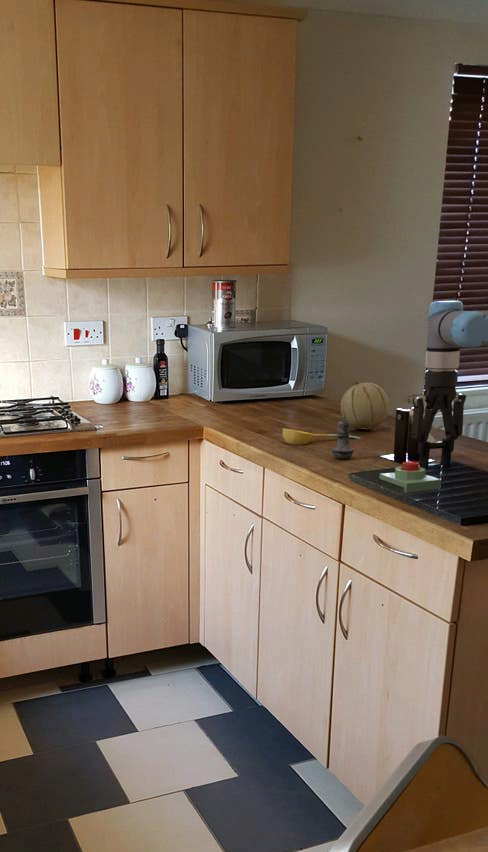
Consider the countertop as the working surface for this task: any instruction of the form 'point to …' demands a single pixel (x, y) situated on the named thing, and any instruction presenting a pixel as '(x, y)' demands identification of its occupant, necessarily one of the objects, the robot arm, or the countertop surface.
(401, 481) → the control block
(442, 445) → the lever
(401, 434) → the bracket
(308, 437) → the ladle
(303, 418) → the countertop surface
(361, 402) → the cantaloupe
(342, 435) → the grey chess piece
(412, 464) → the button
